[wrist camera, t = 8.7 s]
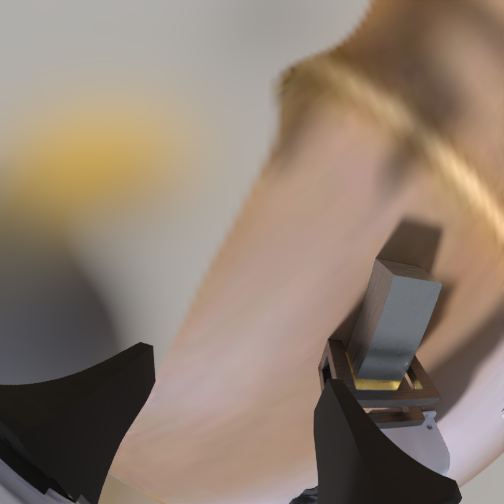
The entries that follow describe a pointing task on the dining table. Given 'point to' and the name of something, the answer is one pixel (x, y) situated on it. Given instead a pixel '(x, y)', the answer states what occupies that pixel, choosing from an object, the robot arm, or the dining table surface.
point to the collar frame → (404, 397)
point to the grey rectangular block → (391, 324)
